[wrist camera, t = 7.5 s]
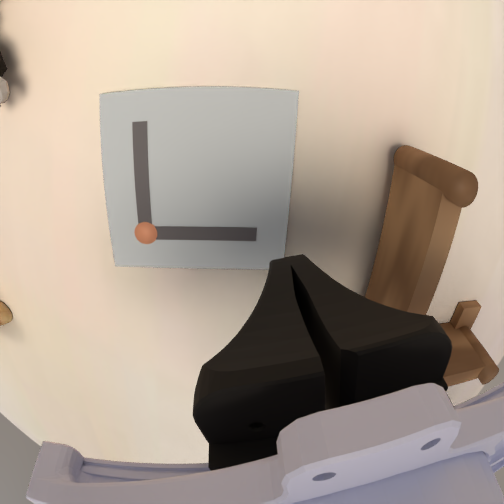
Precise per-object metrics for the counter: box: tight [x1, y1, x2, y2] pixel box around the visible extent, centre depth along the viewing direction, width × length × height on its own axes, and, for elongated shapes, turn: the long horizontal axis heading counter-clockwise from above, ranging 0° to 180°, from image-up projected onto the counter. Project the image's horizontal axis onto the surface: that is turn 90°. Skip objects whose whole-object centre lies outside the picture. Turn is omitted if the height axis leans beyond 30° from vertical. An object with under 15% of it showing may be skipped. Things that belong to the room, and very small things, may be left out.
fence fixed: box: [440, 301, 499, 386], centre depth 18 cm, size 5×12×6 cm, turn 87°
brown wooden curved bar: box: [365, 145, 478, 315], centre depth 14 cm, size 14×2×5 cm, turn 177°
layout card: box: [100, 87, 299, 270], centre depth 14 cm, size 9×9×1 cm
